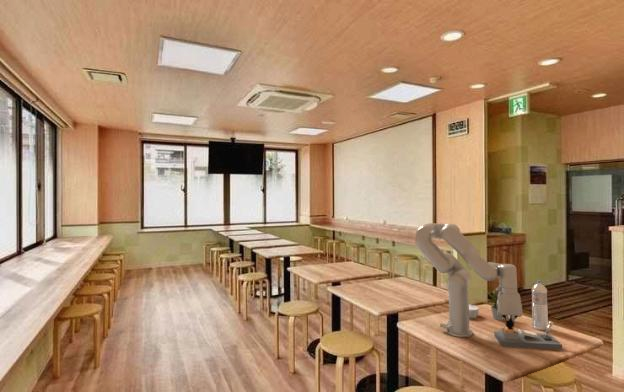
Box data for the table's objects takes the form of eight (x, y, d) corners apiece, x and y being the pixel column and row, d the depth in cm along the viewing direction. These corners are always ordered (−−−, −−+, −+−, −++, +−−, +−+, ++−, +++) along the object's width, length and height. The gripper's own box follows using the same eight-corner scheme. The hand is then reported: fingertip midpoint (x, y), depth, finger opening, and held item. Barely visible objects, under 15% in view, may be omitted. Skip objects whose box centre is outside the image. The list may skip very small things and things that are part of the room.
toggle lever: (544, 336, 164) (550, 321, 164) (542, 334, 166) (548, 319, 166) (548, 337, 164) (554, 323, 163) (547, 336, 166) (552, 321, 165)
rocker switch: (520, 334, 166) (521, 331, 166) (517, 331, 170) (518, 328, 169) (537, 337, 164) (537, 335, 164) (533, 334, 168) (534, 331, 168)
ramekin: (483, 317, 202) (483, 308, 202) (468, 320, 198) (468, 311, 198) (468, 311, 212) (468, 302, 212) (453, 314, 208) (453, 305, 208)
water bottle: (550, 331, 180) (549, 282, 179) (535, 330, 181) (534, 282, 181) (544, 326, 186) (543, 279, 186) (530, 325, 188) (529, 279, 188)
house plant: (507, 325, 188) (506, 295, 188) (480, 319, 198) (479, 290, 198) (516, 318, 198) (515, 290, 198) (490, 313, 208) (489, 285, 208)
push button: (505, 335, 167) (505, 329, 167) (502, 332, 171) (502, 326, 171) (515, 336, 166) (515, 330, 166) (512, 332, 170) (512, 326, 170)
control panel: (501, 346, 164) (501, 334, 164) (494, 336, 175) (494, 325, 175) (562, 350, 158) (561, 338, 158) (550, 339, 170) (549, 327, 170)
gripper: (493, 292, 166) (495, 330, 166) (528, 292, 163) (530, 332, 163) (489, 287, 174) (490, 324, 174) (522, 288, 170) (524, 326, 170)
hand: (509, 328), depth 168 cm, fingers closed
